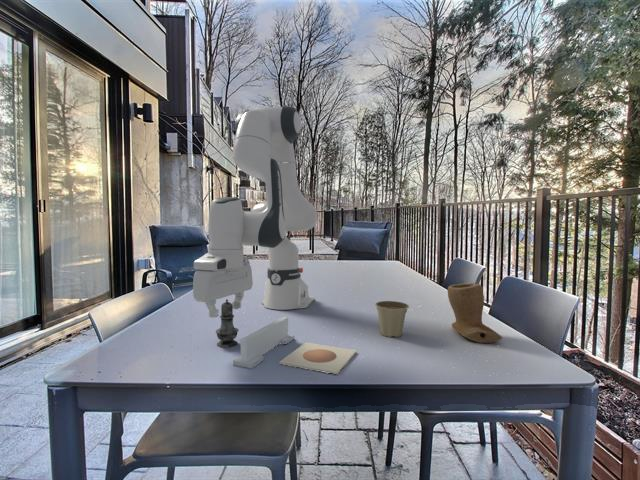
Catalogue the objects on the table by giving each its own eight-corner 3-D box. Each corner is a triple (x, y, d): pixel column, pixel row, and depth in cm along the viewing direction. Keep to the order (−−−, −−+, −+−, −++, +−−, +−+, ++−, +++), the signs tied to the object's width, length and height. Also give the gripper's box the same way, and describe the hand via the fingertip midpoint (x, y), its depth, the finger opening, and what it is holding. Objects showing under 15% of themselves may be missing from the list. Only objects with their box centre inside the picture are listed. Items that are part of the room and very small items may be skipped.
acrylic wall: (278, 336, 102) (278, 315, 101) (294, 339, 100) (294, 317, 99) (232, 364, 82) (232, 338, 82) (251, 368, 81) (251, 342, 80)
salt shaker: (232, 348, 92) (232, 302, 91) (211, 346, 93) (211, 301, 93) (242, 341, 98) (242, 297, 97) (222, 339, 99) (221, 295, 98)
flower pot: (409, 331, 108) (410, 302, 107) (406, 341, 99) (407, 310, 98) (378, 327, 111) (378, 299, 110) (372, 337, 102) (372, 306, 102)
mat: (305, 344, 96) (305, 341, 96) (356, 352, 90) (356, 349, 90) (279, 364, 83) (279, 361, 83) (337, 375, 78) (337, 372, 77)
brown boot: (441, 327, 112) (443, 279, 111) (480, 328, 112) (482, 279, 111) (457, 344, 97) (459, 289, 96) (503, 345, 97) (505, 289, 95)
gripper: (239, 255, 105) (239, 303, 106) (188, 262, 86) (188, 320, 87) (258, 257, 102) (257, 305, 103) (209, 264, 84) (209, 323, 84)
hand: (225, 312), depth 95 cm, fingers open, 8 cm apart
